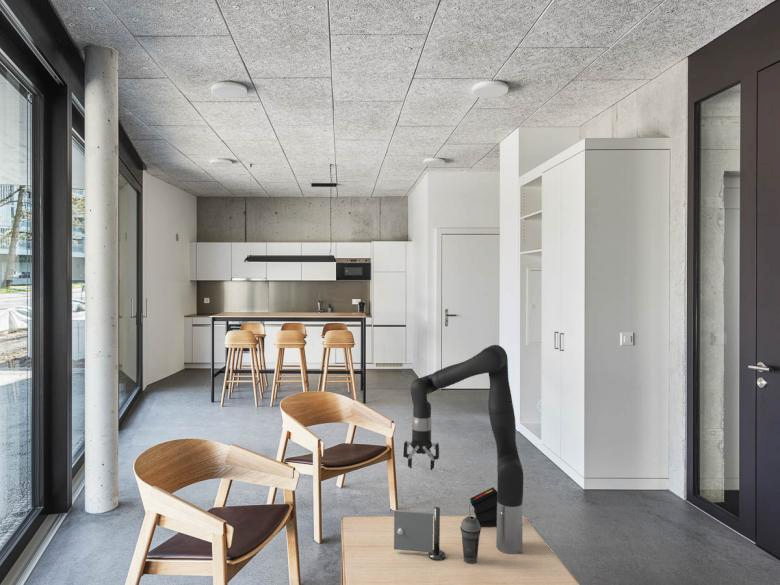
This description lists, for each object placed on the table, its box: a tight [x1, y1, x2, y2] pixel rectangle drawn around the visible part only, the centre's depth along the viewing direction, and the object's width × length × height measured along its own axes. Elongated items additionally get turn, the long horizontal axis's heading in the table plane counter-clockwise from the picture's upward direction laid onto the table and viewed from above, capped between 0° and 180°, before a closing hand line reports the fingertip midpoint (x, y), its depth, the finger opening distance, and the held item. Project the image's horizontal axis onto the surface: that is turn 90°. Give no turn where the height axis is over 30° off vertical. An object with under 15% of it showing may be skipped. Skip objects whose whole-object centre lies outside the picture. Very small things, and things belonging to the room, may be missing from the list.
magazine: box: [469, 487, 497, 528], centre depth 227 cm, size 4×13×15 cm, turn 93°
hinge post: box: [427, 506, 446, 562], centre depth 201 cm, size 6×6×18 cm
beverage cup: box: [459, 502, 482, 565], centre depth 198 cm, size 7×7×20 cm
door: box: [393, 509, 434, 553], centre depth 202 cm, size 14×2×14 cm, turn 81°
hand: (421, 468), depth 223 cm, fingers open, 8 cm apart
